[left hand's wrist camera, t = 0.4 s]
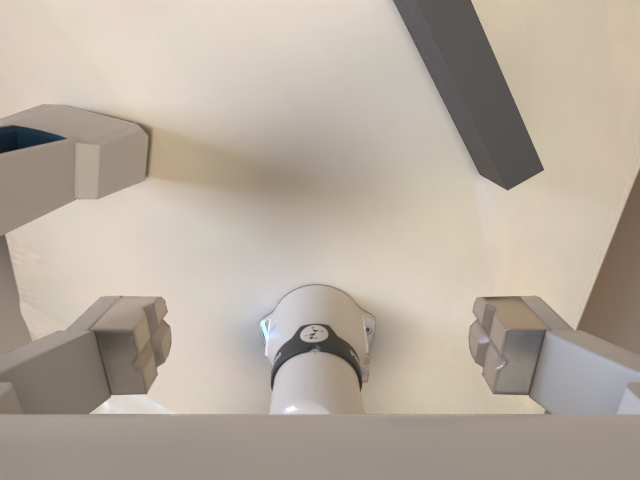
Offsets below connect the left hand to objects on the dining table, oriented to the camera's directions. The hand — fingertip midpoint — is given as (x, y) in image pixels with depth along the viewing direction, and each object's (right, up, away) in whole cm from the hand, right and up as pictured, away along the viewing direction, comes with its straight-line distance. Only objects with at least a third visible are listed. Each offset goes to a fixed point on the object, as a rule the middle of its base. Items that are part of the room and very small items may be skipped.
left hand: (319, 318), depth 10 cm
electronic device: (-29, +15, +42) cm, 53 cm away
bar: (+17, +23, +39) cm, 48 cm away
